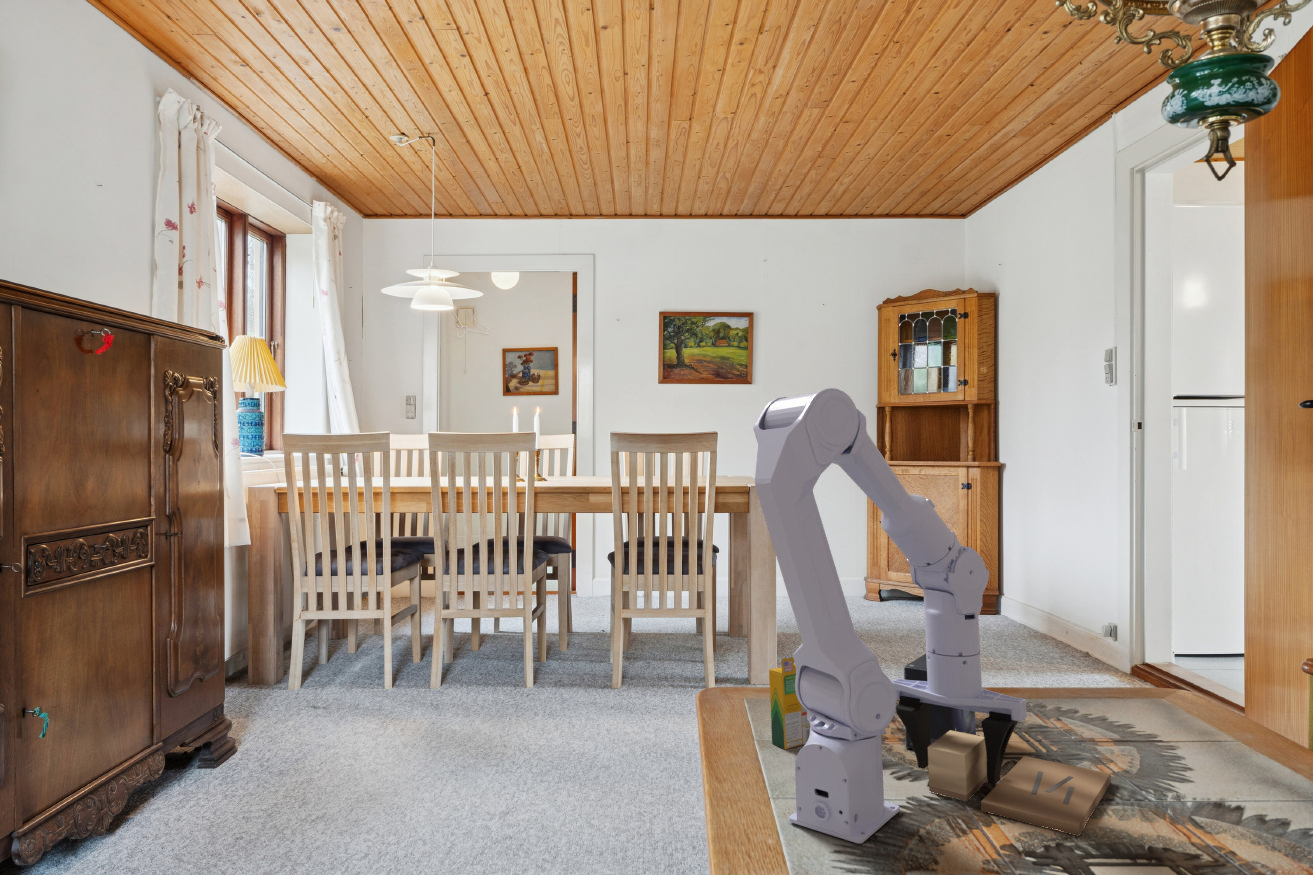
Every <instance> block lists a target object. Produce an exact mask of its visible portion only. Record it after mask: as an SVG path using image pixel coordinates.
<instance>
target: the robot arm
mask: <svg viewBox="0 0 1313 875" xmlns="http://www.w3.org/2000/svg"><path fill="white" fill-rule="evenodd" d="M753 432H754V436H755V438H756V442H757V451H756V452H757V454H756V464H755V475H754V486H755V492H756V495H757V497H758V501H759V504H760V508H761V510H762V513H763V518H764V520H765V523H766V527H767V530H768V534H769V537H770V540H771V542H772V543H771V544H772V546H773V549H774V553H775V556H776V560H777V562H778V565H779V570H780V573H781V577H782V580H783V582H784V587H785V589H786V592H787V596H788V598H789V602H790V605H791V608H792V613H793V616H794V618H795V622H796V625H797V627H798V631H799V634H800V638H801V642H802V643H801V644H800V645H799V647H798V648H797V649H796V650H795V652H794V653H793V654H792V657H793V659H794V665H795V666H796V680H795V691H796V695H797V698H798V700H799V702H800V703H801V705H802V706H803V707H804V708H806V709H807V720H808V721H810V735H809V739H808V741H807V743H806V744H804V745H803V747H801V748H800V750H799V752H798V753H797V755H796V758H795V762H794V763H795V764H794V773H795V774H794V775H795V778H794V779H795V801H796V803H795V804H796V805H795V806H796V807H795V808H796V811H795V812H793V813H792V814H791V815H789V817H788V819H789V820H788V821H789V822H790V823H792V824H795V825H799V826H802V827H804V828H808V829H811V830H814V831H816V832H817V831H818V832H820V833H824V834H825V835H830V836H833V837H836V838H839V839H841V840H842V839H843V840H845V841H848V842H852V843H854V844H857V845H858V844H859V845H860V844H863V843H864V842H866V841H867V840H868V839H869V838H870V837H871V836H872V835H873V834H874V833H875V832H877V831H878V830H880V828H882V827H883V826H884V825H885V824H886V823H887V822H888V821H890V820H891V819H892V818H893V817H894V816H896V815H897V814H898V813H899V812H900V809H901V808H900V806H899V805H898V804H896V803H891V802H888V801H885V798H884V795H885V794H884V789H885V788H884V769H883V768H884V766H883V743H882V742H883V741H882V735H885V734H886V729H887V727H888V726H889V725H890V723H891V722H892V720H893V718H894V715H895V713H896V715H897V716H898V718H899V719H900V721H901V723H902V725H903V726H904V728H906V729H905V731H906V730H907V732H908V735H909V737H910V740H911V742H912V745H913V748H914V749H913V751H914V756H915V758H916V762H917V766H918V768H919V769H924V770H925V769H926V768H927V767H928V747H929V746H930V745H931V744H930V716H931V706H932V704H935V705H941V706H947V707H952V708H958V709H963V710H969V711H975V713H982V714H987V715H988V716H987V717H985V718H984V719H982V721H981V723H980V724H981V729H982V732H983V737H984V739H985V745H986V760H987V784H988V785H991V786H992V785H993V786H996V785H997V784H998V783H999V782H1000V781H1001V774H1002V768H1003V763H1004V757H1005V755H1006V754H1005V753H1006V750H1007V747H1008V744H1009V741H1010V740H1011V737H1012V735H1013V732H1014V730H1015V728H1016V726H1017V724H1018V722H1023V721H1024V720H1026V718H1027V717H1028V716H1027V699H1025V698H1021V697H1017V696H1010V695H1007V694H1003V693H999V692H996V691H992V690H988V689H986V688H983V687H982V686H983V685H982V666H981V664H982V663H981V662H982V661H981V644H980V642H981V641H980V626H979V625H980V624H979V623H980V622H979V620H980V619H979V613H980V612H981V610H982V608H983V605H984V604H983V595H984V592H985V590H986V588H987V585H988V582H989V579H990V570H989V569H987V567H986V563H985V561H984V559H983V558H982V556H981V555H980V554H979V552H977V551H976V550H975V549H974V548H972V547H970V546H969V547H968V546H966V545H962V543H961V542H960V541H959V539H958V536H957V534H956V533H955V532H954V531H953V530H951V529H950V528H949V526H948V525H947V524H946V523H945V521H944V520H943V519H942V518H941V517H940V515H939V514H938V512H937V511H936V510H935V508H936V504H935V503H934V502H933V501H932V500H931V499H930V498H926V497H925V496H923V495H920V494H909V492H908V491H907V489H906V488H905V487H904V485H903V484H902V481H900V479H899V477H898V476H897V475H896V474H895V472H894V470H893V469H892V468H891V466H890V465H889V462H887V460H886V459H885V458H884V456H883V454H882V453H881V451H880V450H879V449H878V447H877V446H876V444H875V442H874V441H873V440H872V438H871V437H870V435H869V434H868V432H867V416H866V415H864V413H862V411H860V409H858V408H857V406H856V403H855V402H854V401H853V399H852V398H851V397H850V395H849V394H848V393H846V392H845V391H843V390H841V389H839V388H835V387H834V388H832V387H830V388H825V389H820V390H819V391H815V392H814V391H813V392H811V393H805V394H799V395H793V396H782V397H776V398H775V399H772V400H771V401H769V402H768V403H767V404H766V405H765V406H764V408H763V410H762V412H761V413H760V415H759V416H758V419H757V420H756V422H755V424H754V425H753ZM832 464H834V465H838V466H839V467H840V469H842V470H843V472H844V473H845V474H846V475H847V476H848V477H849V478H850V480H852V482H854V483H855V484H856V486H857V487H858V488H859V489H860V490H861V491H862V492H863V493H864V494H865V495H866V496H867V498H868V499H870V501H871V502H873V503H874V505H875V506H876V507H877V508H878V509H879V510H880V511H881V520H880V525H881V528H882V530H883V531H884V532H885V533H886V534H887V536H888V537H889V539H890V540H891V541H892V542H893V543H894V545H896V547H897V548H898V549H899V551H900V552H901V553H902V555H904V556H905V558H906V561H907V562H908V564H909V572H910V577H911V580H912V582H913V584H914V585H916V586H918V588H919V589H921V590H922V591H923V605H924V606H923V608H924V628H925V630H924V631H925V632H924V633H925V634H924V635H925V649H926V650H925V652H926V653H925V654H926V658H927V681H913V680H904V678H903V679H901V678H895V679H893V680H891V678H889V677H888V676H887V675H886V674H885V672H884V671H883V670H882V668H881V666H880V663H879V660H878V656H877V655H876V653H874V651H873V650H872V649H871V648H870V647H869V646H868V645H867V644H866V643H865V642H864V640H862V638H860V636H859V635H858V634H857V633H856V631H855V627H854V625H853V621H852V618H851V614H850V611H849V608H848V605H847V604H848V603H847V599H846V597H845V595H844V590H843V588H842V585H841V581H840V577H839V575H838V570H837V568H836V565H835V564H836V563H835V560H834V557H833V555H832V554H833V553H832V551H831V547H830V544H829V541H828V537H827V534H826V531H825V528H824V527H825V526H824V524H823V521H822V517H821V514H820V510H819V508H818V505H817V500H816V499H815V494H814V487H815V486H816V484H817V482H818V480H819V479H820V477H821V475H822V474H823V473H824V472H825V470H827V469H828V468H829V467H830V466H831V465H832ZM897 700H899V701H898V704H897Z"/></svg>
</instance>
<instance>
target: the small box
mask: <svg viewBox="0 0 1313 875" xmlns="http://www.w3.org/2000/svg"><path fill="white" fill-rule="evenodd" d="M903 680H913V681H927V658H926V653H925V654H923V655H921V656H919V657H918V658H916V659H914V660H912V661H911V662H909V663H907V664H906V665H904V666H903ZM904 728H905V727H904ZM950 730H952V731H957V732H962V733H967V734H972V735H975V734H976V735H977V724H976V712H975V711H969V710H963V709H958V708H952V707H947V706H941V705H935V704H932V706H931V716H930V744H933V743H934V742H935V741H937V740H938V739H939V738H940V737H942V736H943V735H944V734H946V733H947V732H948V731H950ZM904 736H905V745H904V746H905V748H906V749H912V750H914V748H913V745H912V742H911V740H910V737H909V735H908V732H907V730H906V728H905V735H904Z"/></svg>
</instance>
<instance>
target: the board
mask: <svg viewBox="0 0 1313 875" xmlns="http://www.w3.org/2000/svg"><path fill="white" fill-rule="evenodd" d="M1111 778H1112V777H1111V773H1109V772H1105V771H1100V770H1096V769H1095V770H1094V769H1090V768H1085V767H1081V766H1075V765H1070V764H1067V763H1061V762H1056V761H1051V760H1046V759H1041V758H1037V757H1031V756H1027V755H1023V756H1022V757H1021V759H1020V760H1018V762H1017V763H1016V764H1015V765H1014V766H1013V767H1012V768H1011V769H1010V770H1009V771H1008V772H1007V773H1006V774H1005V775H1004V777H1002V779H1000V780H999V781H998V782H997V783H996V785H994V787H993V788H992V789H991V790H990V791H989V792H988V794H987V795H986V796H985V797H983V799H982V800H981V802H980V806H981V807H980V808H981V812H982V811H986V812H990V813H994V814H997V815H1001V816H1005V817H1008V818H1007V819H1009V818H1013V819H1016V820H1015V821H1017V820H1019V821H1018V822H1020V821H1022V823H1024V822H1026V823H1025V824H1028V823H1031V824H1030V825H1032V824H1034V825H1033V826H1036V825H1038V826H1037V827H1040V826H1044V827H1048V828H1051V829H1052V828H1053V829H1058V830H1061V831H1064V832H1067V833H1071V834H1075V835H1078V836H1079V834H1080V833H1081V834H1082V832H1083V830H1084V829H1085V827H1086V825H1087V824H1086V822H1087V820H1088V818H1089V817H1090V815H1091V813H1092V812H1093V810H1094V809H1095V807H1096V805H1097V804H1098V805H1099V803H1100V802H1101V800H1102V799H1103V797H1104V795H1105V793H1106V792H1107V790H1108V789H1109V786H1110V785H1111V783H1112V782H1111V781H1112V779H1111ZM1099 801H1100V802H1099ZM1098 805H1097V806H1098ZM1096 808H1097V807H1096ZM1095 810H1096V809H1095ZM1095 810H1094V811H1095ZM986 812H985V813H986ZM990 813H989V814H990ZM1093 813H1094V812H1093ZM997 815H996V816H997ZM1001 816H1000V817H1001ZM1091 816H1092V815H1091ZM1005 817H1004V818H1005ZM1090 818H1091V817H1090ZM1013 819H1012V820H1013ZM1088 821H1089V820H1088ZM1087 823H1088V822H1087ZM1085 824H1086V825H1085ZM1084 826H1085V827H1084ZM1044 827H1043V828H1044ZM1083 828H1084V829H1083ZM1051 829H1050V830H1051ZM1082 829H1083V830H1082ZM1081 831H1082V832H1081ZM1067 833H1066V834H1067ZM1071 834H1070V835H1071ZM1081 834H1080V835H1081ZM1075 835H1074V836H1075ZM1078 836H1077V837H1078ZM1079 837H1080V836H1079Z"/></svg>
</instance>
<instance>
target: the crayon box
mask: <svg viewBox="0 0 1313 875" xmlns="http://www.w3.org/2000/svg"><path fill="white" fill-rule="evenodd" d="M768 678H769V700H770V702H769V703H770V718H771V719H770V724H771V744H772V745H773V746H777V747H779V748H781V749H782V750H785V751H787V750H789V749H791V748H796V747H800V746H804V745H805V744H806V743H807V741H808V739H809V735H810V721H808V720H807V709H806V708H804V707H803V706H802V705H801V703H800V702H799V700H798V698H797V695H796V691H795V680H796V666H795V662H794V659H793V656H791V657H790V656H789V657H786V658H784V657H783V658H782V659H781V667H777V668H771V669H769V670H768Z"/></svg>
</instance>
